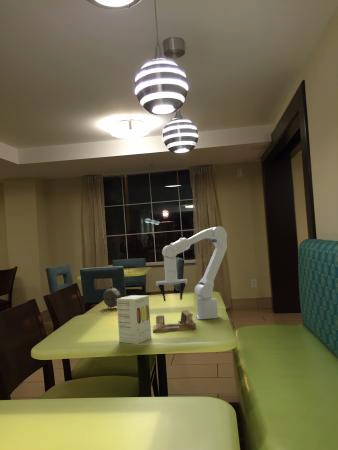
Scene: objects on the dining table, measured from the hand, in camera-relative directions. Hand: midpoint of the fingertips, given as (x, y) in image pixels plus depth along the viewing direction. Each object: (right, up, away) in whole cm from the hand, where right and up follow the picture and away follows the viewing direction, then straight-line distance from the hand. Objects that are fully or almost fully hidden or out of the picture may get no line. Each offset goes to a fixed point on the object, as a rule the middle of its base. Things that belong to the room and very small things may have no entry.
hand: (172, 300), depth 169 cm
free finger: (+6, -7, -13) cm, 16 cm away
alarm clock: (-35, -15, +46) cm, 60 cm away
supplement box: (-15, -10, -27) cm, 33 cm away
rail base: (0, -9, -13) cm, 16 cm away
